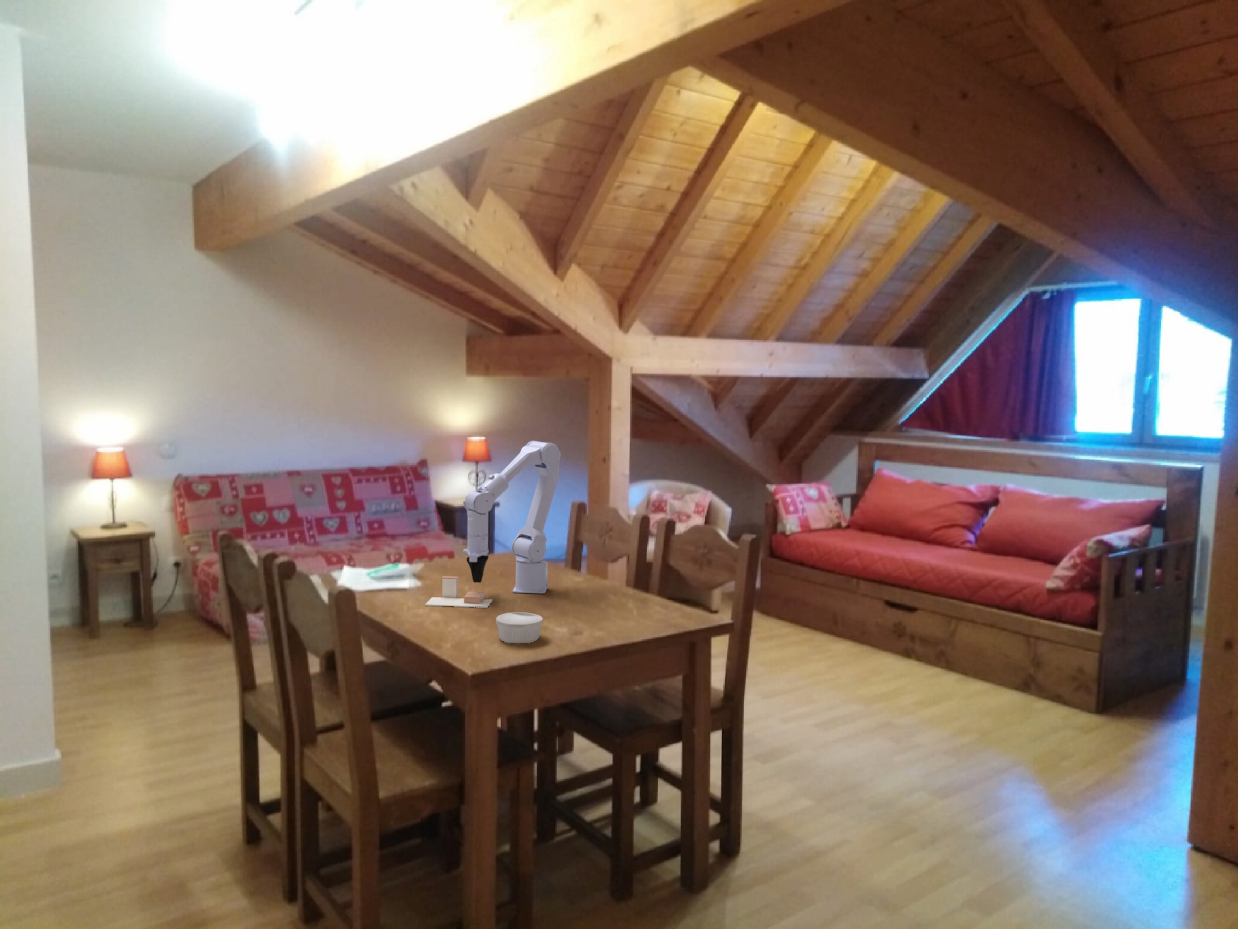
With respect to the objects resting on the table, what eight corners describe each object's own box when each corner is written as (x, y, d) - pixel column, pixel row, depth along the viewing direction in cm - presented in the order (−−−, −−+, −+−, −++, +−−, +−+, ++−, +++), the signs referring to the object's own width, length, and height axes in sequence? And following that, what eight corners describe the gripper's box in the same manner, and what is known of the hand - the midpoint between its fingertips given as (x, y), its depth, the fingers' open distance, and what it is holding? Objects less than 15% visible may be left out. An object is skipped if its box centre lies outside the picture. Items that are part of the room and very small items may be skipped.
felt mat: (492, 600, 249) (492, 599, 249) (487, 608, 241) (487, 606, 241) (431, 598, 249) (431, 597, 249) (425, 605, 241) (425, 604, 241)
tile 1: (458, 597, 251) (458, 576, 251) (457, 599, 250) (457, 578, 249) (442, 597, 251) (442, 576, 251) (441, 598, 250) (441, 577, 249)
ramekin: (545, 633, 220) (545, 612, 219) (539, 647, 209) (539, 625, 208) (500, 631, 220) (500, 610, 219) (491, 645, 209) (492, 623, 208)
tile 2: (484, 592, 249) (480, 597, 244) (483, 598, 250) (480, 603, 244) (468, 591, 250) (463, 596, 244) (468, 597, 250) (463, 603, 244)
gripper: (468, 529, 256) (468, 575, 258) (458, 538, 242) (458, 587, 243) (492, 530, 256) (492, 576, 258) (484, 539, 242) (483, 588, 243)
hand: (477, 582), depth 250 cm, fingers closed
